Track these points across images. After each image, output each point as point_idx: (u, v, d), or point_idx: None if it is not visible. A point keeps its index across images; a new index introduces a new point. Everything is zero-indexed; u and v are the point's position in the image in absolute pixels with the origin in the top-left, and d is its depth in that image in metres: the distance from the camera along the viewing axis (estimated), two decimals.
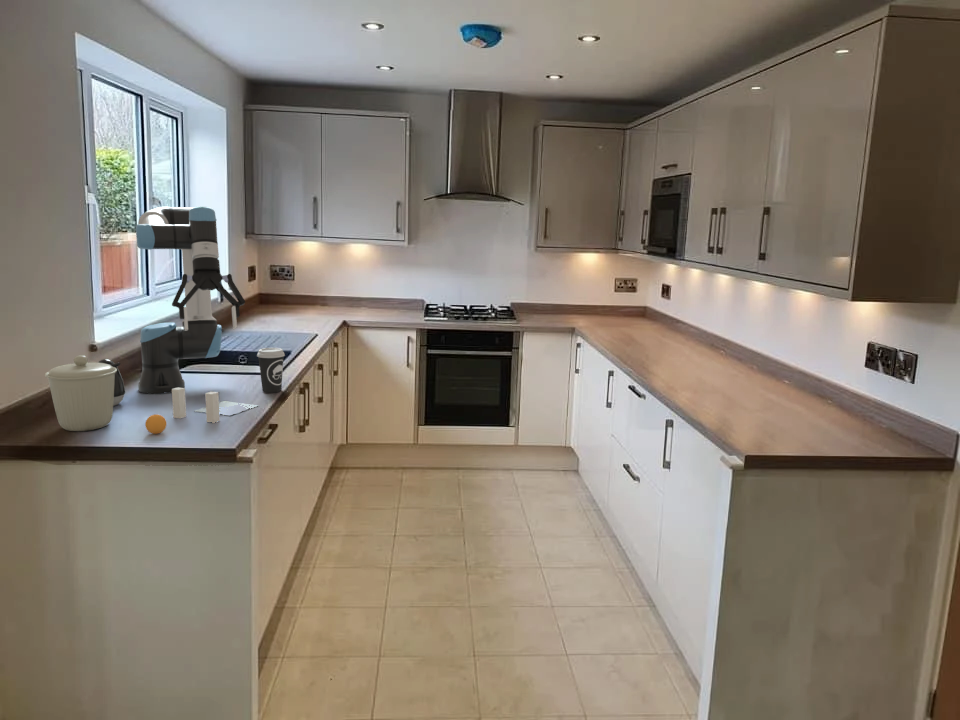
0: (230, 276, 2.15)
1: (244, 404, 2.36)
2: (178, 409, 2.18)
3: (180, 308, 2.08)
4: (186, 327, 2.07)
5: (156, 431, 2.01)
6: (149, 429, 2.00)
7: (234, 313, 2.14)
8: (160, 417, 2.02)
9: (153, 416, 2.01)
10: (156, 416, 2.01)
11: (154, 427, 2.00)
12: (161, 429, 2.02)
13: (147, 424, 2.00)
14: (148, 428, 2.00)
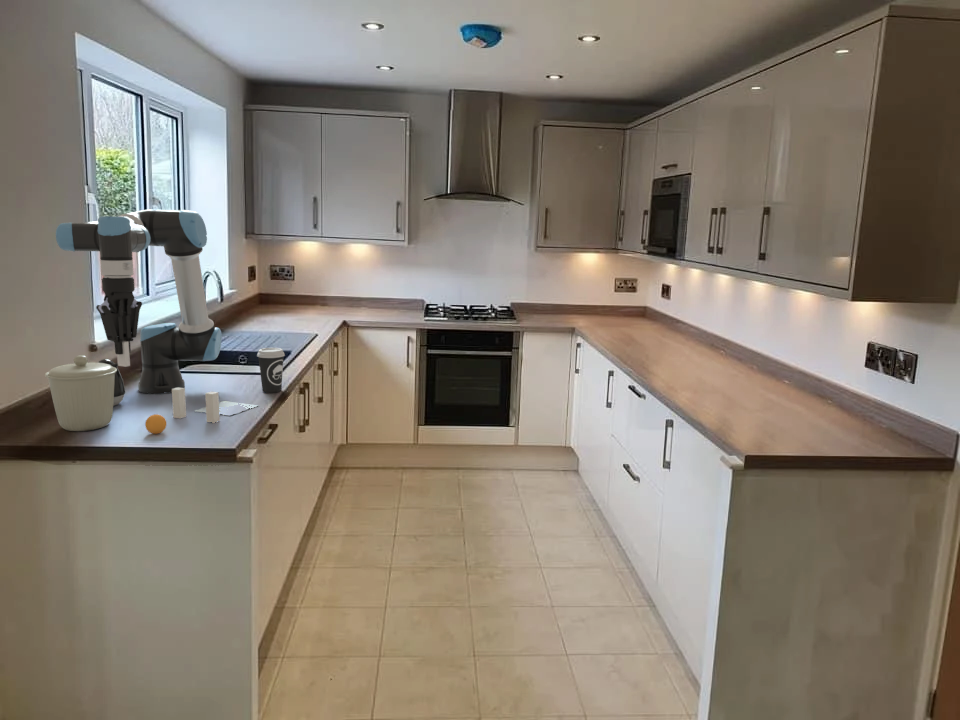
0: (140, 305, 1.92)
1: (244, 404, 2.36)
2: (178, 409, 2.18)
3: (119, 343, 1.87)
4: (126, 364, 1.89)
5: (156, 431, 2.01)
6: (149, 429, 2.00)
7: (127, 350, 1.89)
8: (160, 417, 2.02)
9: (153, 416, 2.01)
10: (156, 416, 2.01)
11: (154, 427, 2.00)
12: (161, 429, 2.02)
13: (147, 424, 2.00)
14: (148, 428, 2.00)
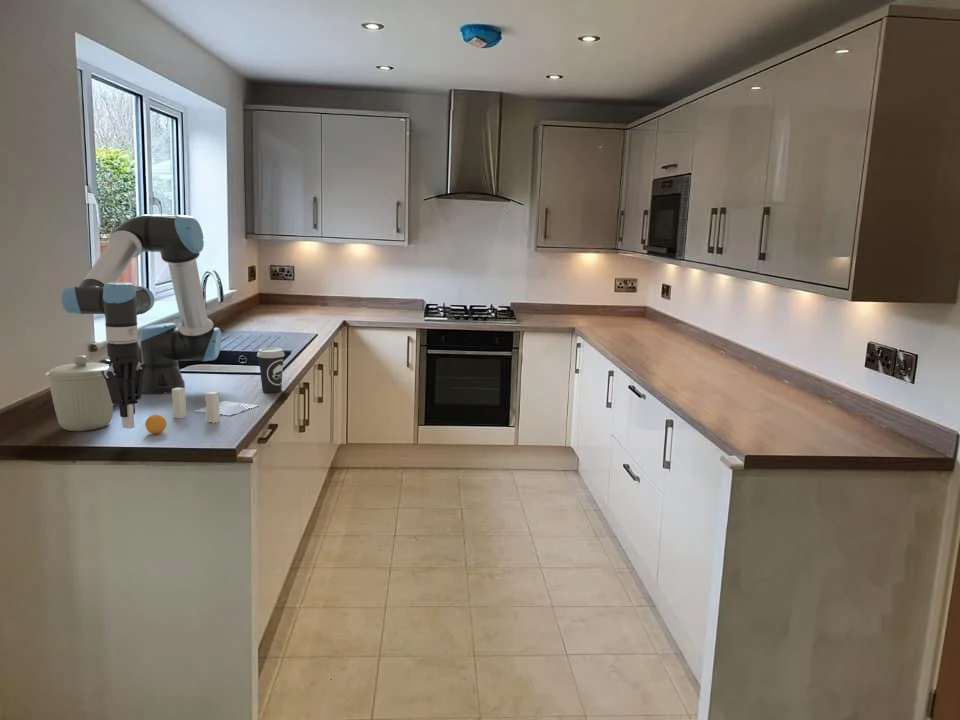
0: (145, 367, 1.95)
1: (244, 404, 2.36)
2: (178, 409, 2.18)
3: (124, 406, 1.90)
4: (131, 426, 1.92)
5: (156, 431, 2.01)
6: (149, 429, 2.00)
7: (132, 412, 1.92)
8: (160, 417, 2.02)
9: (153, 416, 2.01)
10: (156, 416, 2.01)
11: (154, 427, 2.00)
12: (161, 429, 2.02)
13: (147, 424, 2.00)
14: (148, 428, 2.00)
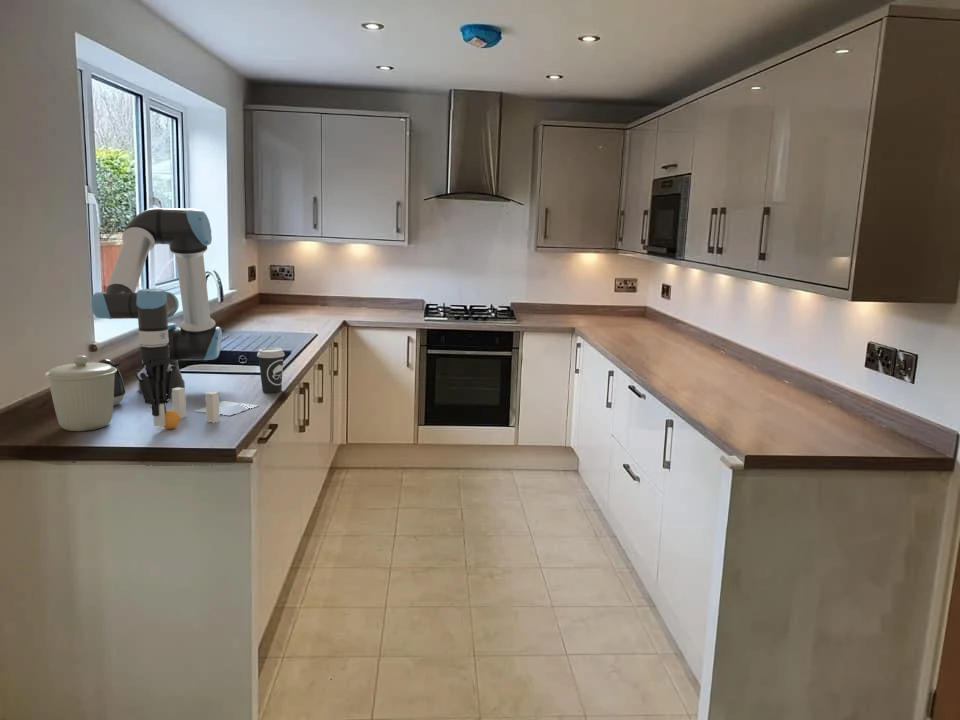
0: (175, 368, 2.06)
1: (244, 404, 2.36)
2: (178, 409, 2.18)
3: (156, 406, 2.01)
4: (162, 425, 2.03)
5: (169, 416, 2.05)
6: (167, 411, 2.06)
7: (163, 411, 2.03)
8: (179, 419, 2.09)
9: None
10: None
11: (173, 412, 2.06)
12: (173, 419, 2.05)
13: (169, 410, 2.08)
14: (167, 411, 2.06)
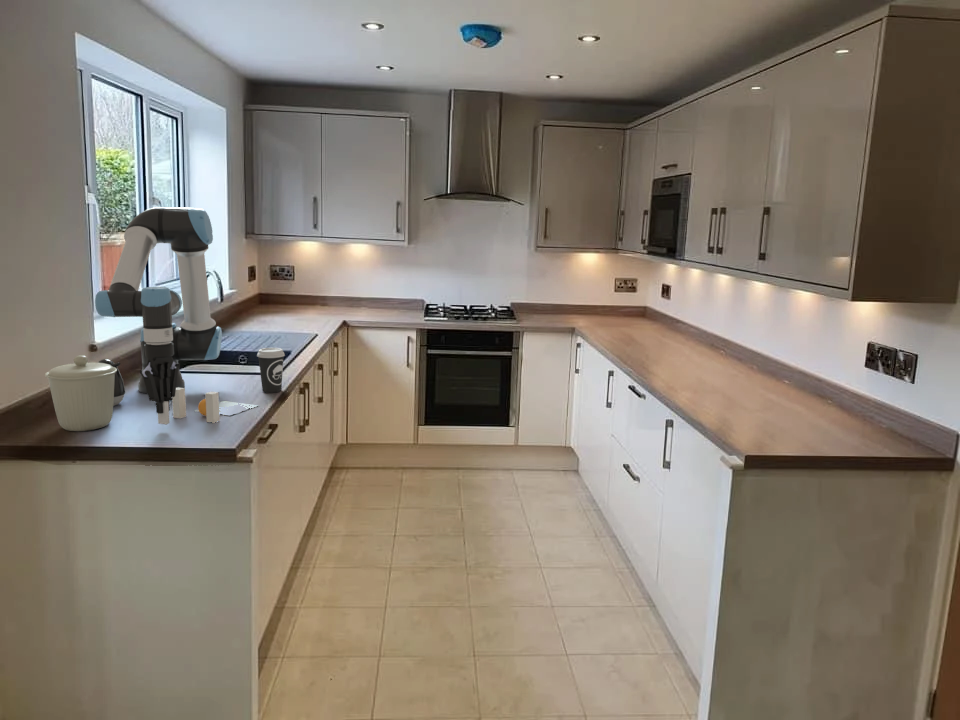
0: (179, 366, 2.07)
1: (244, 404, 2.36)
2: (178, 409, 2.18)
3: (160, 403, 2.03)
4: (166, 422, 2.05)
5: None
6: (202, 403, 2.19)
7: (167, 409, 2.05)
8: None
9: None
10: None
11: None
12: None
13: (204, 399, 2.20)
14: (202, 402, 2.20)
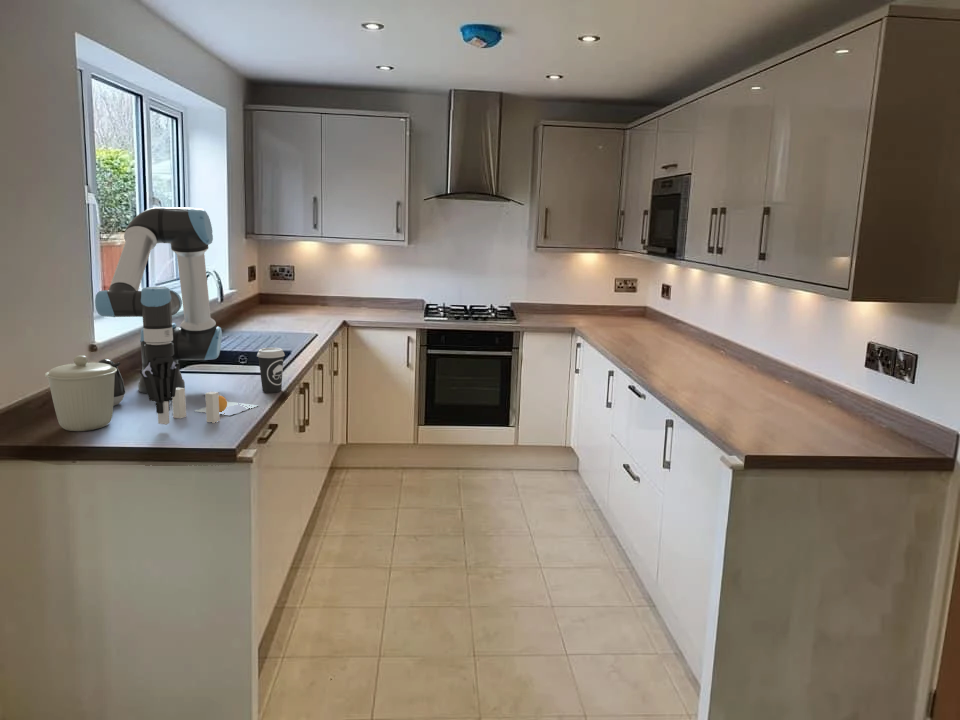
0: (179, 366, 2.07)
1: (244, 404, 2.36)
2: (178, 409, 2.18)
3: (160, 403, 2.03)
4: (166, 422, 2.05)
5: (223, 397, 2.26)
6: None
7: (167, 409, 2.05)
8: (224, 409, 2.26)
9: None
10: None
11: None
12: (223, 400, 2.25)
13: None
14: None
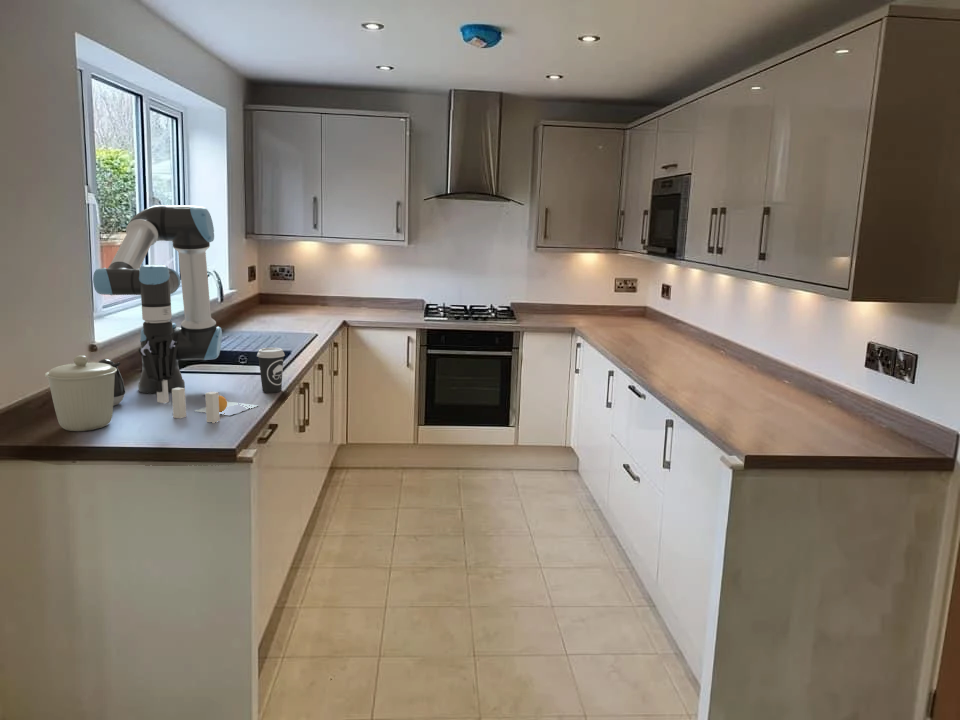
0: (177, 345, 2.06)
1: (244, 404, 2.36)
2: (178, 409, 2.18)
3: (159, 382, 2.02)
4: (165, 401, 2.04)
5: (223, 397, 2.26)
6: None
7: (166, 388, 2.04)
8: (224, 409, 2.26)
9: None
10: None
11: None
12: (223, 400, 2.25)
13: None
14: None
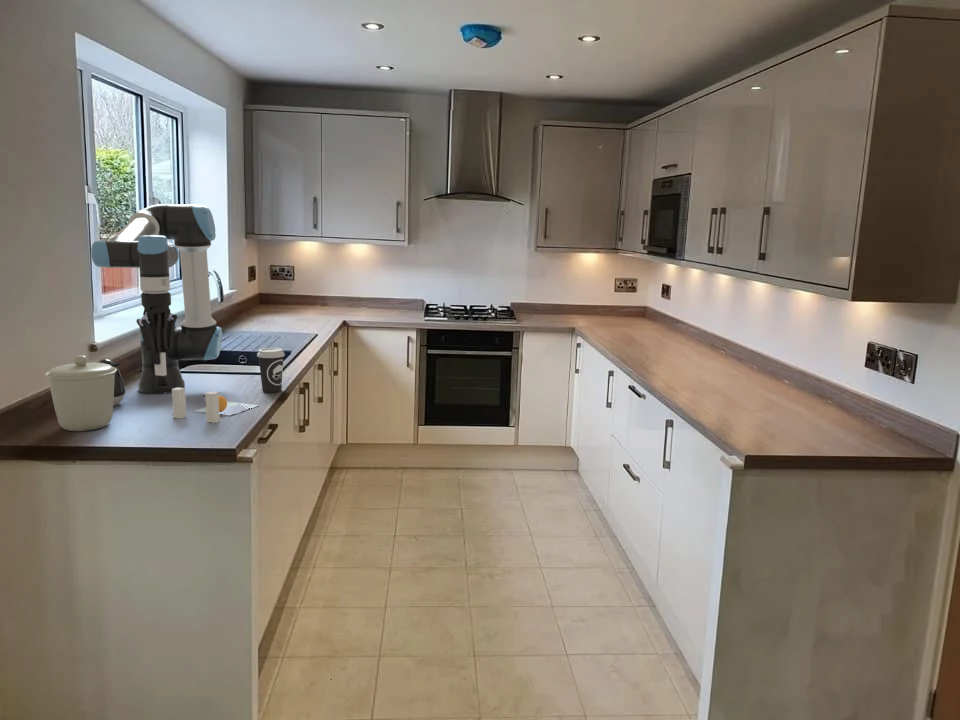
0: (176, 317, 2.05)
1: (244, 404, 2.36)
2: (178, 409, 2.18)
3: (157, 354, 2.00)
4: (163, 374, 2.02)
5: (223, 397, 2.26)
6: None
7: (164, 360, 2.02)
8: (224, 409, 2.26)
9: None
10: None
11: None
12: (223, 400, 2.25)
13: None
14: None
